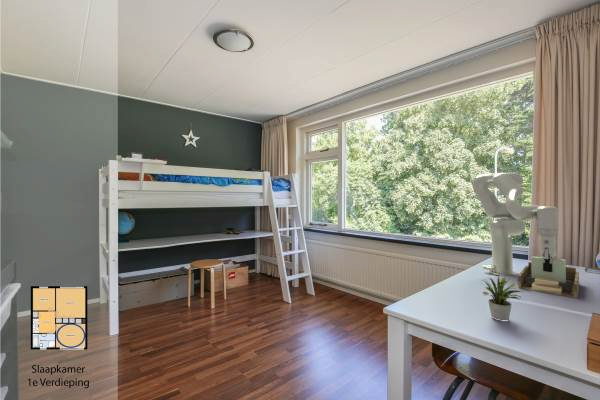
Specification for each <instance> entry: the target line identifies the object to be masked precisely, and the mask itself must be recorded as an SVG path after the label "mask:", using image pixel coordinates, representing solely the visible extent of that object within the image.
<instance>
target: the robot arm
mask: <svg viewBox="0 0 600 400" xmlns="http://www.w3.org/2000/svg"><path fill="white" fill-rule="evenodd" d="M523 181H524V178H523V176H522V175H521V174H520V173H518V172H499V173H494V174H490V173H488V174H486V173H485V174H480V175H476V177H474V179H473V182H472V189H473V191H474V194H475V195H476V197H477V198H478V200H479V202H480V204H481V206H482V208H483V211H484V213H485V214H486V216H487V217H488V218H489V219H494V220H492V221H490V223H489V231H490V237H491V262H492V263H490V265H482V269H483V270H487V271H489V273H490V274H491V275H495V276H498V275H499V276H516V275H517V272H515V271H514V270H513V269H514V267H513V266H514V265H513V264H514V263H513V261H514V260H513V242H512V240H511V238H510V237H509V236H519V235H523V234H524V232H525V231H526V224H525V221H526V222H527V221H528V222H529V221H536V234H537V236H540V238H539V239H540V255H541V256H540V257H543V271H546V272H552V264H551V258H556V256H557V240H556V237H559V209H558V208H557V207H556V206H552V205H551V206H550V205H549V206H548V205H547V206H543V205H537V204H536V205H522V204H520V203H519V202H518V199H519V198H520V197H522V196H523V194H524V191H525V190H524V189H523V188H522V184H523ZM490 189H498V190H499V192H500V193H502V195H503V196H504V197H505V201H503V202H501V201H499V199H498V197H497V195H496V194H495V193H494V192H493V191H492V190H490ZM549 258H550V259H549Z"/></svg>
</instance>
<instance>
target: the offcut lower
mask: <svg viewBox="0 0 600 400" xmlns="http://www.w3.org/2000/svg"><path fill="white" fill-rule="evenodd" d="M532 290H535V291H534V292H537V291H540V292H539V293H543V292H546V293H545V294H549V293H552V294H551V295H554V294H558V295H557V296H560V295H562V286H559V288H558V289H557V288H551V287H545V286H538V285H535V282H533V284H532Z"/></svg>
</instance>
